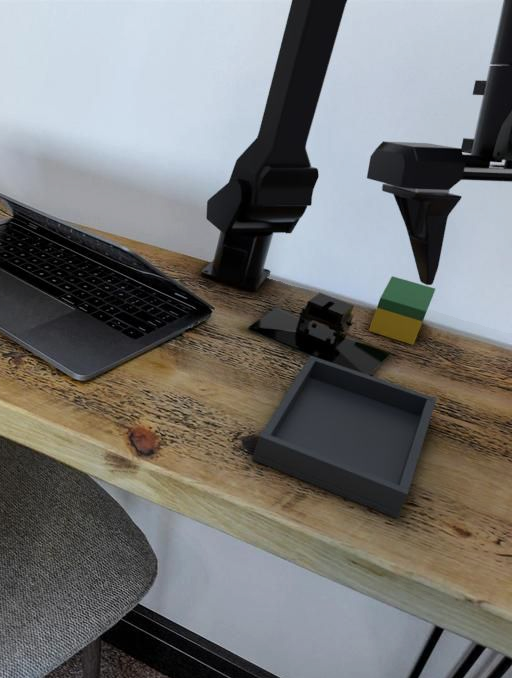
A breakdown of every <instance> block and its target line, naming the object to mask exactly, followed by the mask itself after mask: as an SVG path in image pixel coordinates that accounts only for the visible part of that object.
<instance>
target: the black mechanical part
mask: <svg viewBox="0 0 512 678" xmlns="http://www.w3.org/2000/svg"><path fill="white" fill-rule="evenodd" d="M354 307H355V306H354V305H353V304H351V303H348V302H346V301H344V300H341V299H337V298H335V297H332V296H329V295H327V294H324V293H321V292H318V293H317V294H315V295H314V296H313V297H311V298H310V299H308V300H307V302H306V305H305V306H303V307H302V309H301V310H300V311H299V315H297V314H295V313H292V312H289V311H287V310H284V309H282V308H279V307H275V308H274V309H272V310H271V311H268V313H266V314H265V315H263V316H262V317H261V318H259V319H258V320H256V321H255V322H253V323H252V324H251V325H249V326H248V328H247V331H248V332H250V333H253V334H255V335H257V336H259V337H262V338H265V339H267V340H269V341H272V342H274V343H276V344H279V345H282V346H283V347H286V348H289V349H291V350H293V351H295V352H297V353H300V354H303V355H305V356H307V357H309V356H313V357H316V358H319V359H322V360H325V361H328V362H331V363H334V364H337V365H340V366H343V367H346V368H349V369H352V370H355V371H357V372H360V373H363V374H366V375H369V376H372V375H373V374H374V373H375V372H376V371H377V370H378V369H379V368H380V367H381V366H382V365H383V364H384V363H385V362H386V360H388V359H389V358H390V357H391V354H392V352H391V351H389V350H386V349H383V348H381V347H379V346H376V345H373V344H370V343H368V342H365V341H363V340H361V339H358V338H355V337H353V336H350V335H348V333H349V330H350V327H352V326H353V323H354V322H353V319H354V317H355V316H354V314H352V312H353V309H354Z"/></svg>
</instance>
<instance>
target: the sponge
mask: <svg viewBox="0 0 512 678" xmlns="http://www.w3.org/2000/svg"><path fill="white" fill-rule="evenodd" d="M435 291H436V288H435V287H431V286H429V285H426V284H421V283H418V282H414V281H410V280H408V279H404V278H399V277H396V276H394V275H392V276H391V277H390V279H389V281H388V282H387V285H386V286H385V288H384V290H383V292H382V294H381V296H380V298H379V300H378V302H377V303H378V304H377V306H376V308H375V311H374V314H373V317H372V320H371V322H370V325H369V328H368V331H369V332H371V333H374V334H377V335H380V336H383V337H386V338H389V339H394V340H395V341H399V342H402V343H405V344H407V345H411V346H413V345H414V344H415V342H416V339H417V337H418V334H419V332H420V329H421V327H422V324H423V322H424V320H425V317H426V314H427V312H428V310H429V307H430V305H431V301H432V299H433V296H434V294H435Z"/></svg>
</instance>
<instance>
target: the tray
mask: <svg viewBox="0 0 512 678" xmlns="http://www.w3.org/2000/svg"><path fill="white" fill-rule="evenodd" d="M436 402H437V398H436V397H434V396H432V395H431V396H430V395H427V394H425V393H421V392H419V391H416V390H413V389H410V388H407V387H404V386H402V385H398V384H395V383H392V382H389V381H386V380H384V379H381V378H378V377H375V376H372V375H371V376H369V375H366V374H363V373H360V372H357V371H355V370H352V369H349V368H346V367H343V366H340V365H337V364H334V363H331V362H328V361H325V360H322V359H319V358H316V357H313V356H308V357H307V359H306V360H305V363H304V364H303V365H302V367H301V369H300V371H299V372H298V374H297V375H296V377H295V379H294V380H293V382H292V384H291V385H290V387H289V388H288V390H287V391H286V393H285V394H284V396H283V397H282V399H281V401H280V403H279V404H278V406H277V407H276V409H275V411H274V412H273V413H272V415H271V417H270V418H269V420H268V422H267V423H266V425H265V426H264V428H263V429H262V431H261V432H260V435H259V436H258V439H257V443H256V445H255V449H254V453H253V455H252V459H251V460H252V461H254V462H257V463H259V464H261V465H264V466H265V467H266V466H267V467H268V468H271V469H273V470H276V471H278V472H281V473H284V474H285V475H287V476H290V477H294V478H296V479H298V480H301V481H303V482H306V483H308V484H311V485H312V486H315V487H317V488H320V489H323V490H325V491H328V492H330V493H332V494H335V495H338V496H340V497H343V498H345V499H348V500H349V501H352V502H355V503H358V504H359V505H362V506H364V507H367V508H370V509H371V510H374V511H377V512H380V513H382V514H384V515H387V516H389V517H392V518H394V519H398V518H399V516H400V513H401V511H402V509H403V506H404V504H405V501H406V500H407V498H408V495H409V492H410V488H411V486H412V483H413V478H414V475H415V473H416V469H417V465H418V462H419V459H420V456H421V452H422V448H423V444H424V443H425V439H426V435H427V432H428V429H429V427H430V426H429V425H430V421H431V418H432V416H433V412H434V409H435V405H436Z"/></svg>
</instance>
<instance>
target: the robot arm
mask: <svg viewBox="0 0 512 678" xmlns="http://www.w3.org/2000/svg"><path fill="white" fill-rule="evenodd" d="M502 1H503V2H502V6H501V9H500V10H501V11H500V15H499V20H498V25H497V29H496V34H495V38H494V42H493V48H492V53H491V57H490V62H489V67H488V71H487V74H486V75H487V76H486V79H485V80H475V81H474V86H473V90H472V96H482V99H481V104H480V108H479V113H478V117H477V122H476V127H475V131H474V136H473V138H472V137H471V138H470V137H469V138H467V137H463V138H462V143H461V147H460V148H459V147H453V146H448V145H441V144H435V143H428V142H427V143H426V142H408V141H407V142H403V141H384V140H383V141H382V142H381V143H380V144H379V145H378V146H377V147H376V148H375V150H374V151H373V152H372V153H371V155H370V157H369V164H368V169H367V175H366V179H367V180H372V181H376V182H380V183H382V186H381V191H382V192H385V193H388V194H391V195H393V197H394V200H395V203H396V205H397V208H398V210H399V212H400V215H401V218H402V220H403V223H404V226H405V228H406V232H407V236H408V239H409V242H410V247H411V250H412V255H413V259H414V262H415V267H416V269H417V273H418V278H419V281H420V282H421V283H422V284H423V285H425V286H432V285H433V284H434V282H435V278H436V275H437V272H438V270H439V266H440V260H441V254H442V250H443V245H444V239H445V234H446V228H447V224H448V223H447V222H448V218H449V215H450V214H451V213H452V212H453V210H455V208H456V206H457V205H458V204H459V203H460V201H461V200H462V198H463V196H462V195H459V194H454V193H452V192H450V190H451V189H452V188H453V187H455V186H456V185H457V184H458V183H459V182H461V181H481V182H484V181H486V182H509V183H511V182H512V0H502ZM347 3H348V0H291V4H290V7H289V11H288V16H287V19H286V24H285V27H284V31H283V34H282V39H281V43H280V46H279V51H278V55H277V59H276V63H275V67H274V71H273V74H272V78H271V82H270V87H269V91H268V95H267V97H266V98H267V99H266V103H265V106H264V110H263V114H262V117H261V118H262V119H261V124H260V125H259V131H258V134H257V136H256V138H255V139H254V141H253V142H251V143H250V145H249V146H248V147H247V148H246V149H245V150H244V151H243V152H242V153H241V154H240V156H239V157H238V158H237V159H236V161H235V163H234V166H233V169H232V172H231V174H230V178H229V180H228V183H226V184H224V186H222V188H220V189H219V190H218V191H217V192H216V193H214V194H213V195H212V196H211V197H210V198H209V199H207V203H206V217H205V218H206V220H207V221H208V222H209V223H210V224H211V225H213V226H214V227H215V228H216V229H217V230H219V231H220V232H219V236H218V239H217V244H216V248H215V252H214V256H213V260H212V261H211V262H209V263H208V264H207V265H206V266H205V267H204V268H203V269H202V270H201V272H200V275H201V276H203V277H205V278H209V279H212V280H215V281H218V282H221V283H224V284H228V285H230V286H234V287H237V288H239V289H240V288H241V289H243V290H246V291H250V292H256V291H258V289H259V288H260V287H261V286H262V284H264V282H265V281H266V280H267V279H268V277H269V276H271V272H272V271H271V270H270V269H267V268H265V265H266V262H267V257H268V254H269V251H270V247H271V243H272V240H273V236H274V234H292V233H293V232H294V229H295V228H296V226H297V225H298V223H299V221H300V219H301V218H302V217H303V216H304V214H305V212H306V210H307V208H308V207H311V206H312V201H313V194H314V189H315V186H316V184H317V182H318V179H319V175H320V174H319V169H318V168H317V167H314V166H312V164H311V160H310V157H309V155H308V151H307V143H308V139H309V136H310V132H311V129H312V125H313V121H314V118H315V114H316V111H317V107H318V104H319V100H320V97H321V93H322V90H323V87H324V82H325V79H326V75H327V73H328V69H329V65H330V61H331V57H332V56H333V55H332V54H333V51H334V47H335V44H336V40H337V38H338V37H337V36H338V34H339V31H340V27H341V24H342V20H343V16H344V12H345V10H346V5H347ZM503 161H504V163H503ZM501 163H502V164H501Z"/></svg>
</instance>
